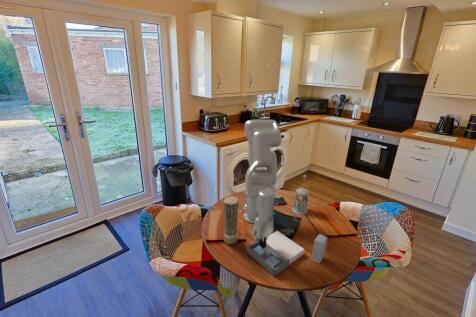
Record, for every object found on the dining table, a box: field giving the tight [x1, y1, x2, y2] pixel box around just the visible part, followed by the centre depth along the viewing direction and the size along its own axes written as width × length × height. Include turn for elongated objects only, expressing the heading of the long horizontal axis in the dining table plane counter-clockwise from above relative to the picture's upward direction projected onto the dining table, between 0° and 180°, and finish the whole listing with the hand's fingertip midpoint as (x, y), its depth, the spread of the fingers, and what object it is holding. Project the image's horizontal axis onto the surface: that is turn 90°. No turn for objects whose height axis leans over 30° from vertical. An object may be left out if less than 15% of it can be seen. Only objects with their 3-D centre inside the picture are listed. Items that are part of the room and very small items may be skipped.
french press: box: [290, 174, 310, 215], centre depth 154 cm, size 10×12×25 cm
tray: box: [245, 241, 290, 277], centre depth 117 cm, size 19×10×4 cm, turn 39°
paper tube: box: [223, 195, 239, 245], centre depth 125 cm, size 7×7×25 cm
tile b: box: [252, 246, 266, 257], centre depth 120 cm, size 5×5×2 cm
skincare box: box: [311, 233, 328, 264], centre depth 117 cm, size 6×4×12 cm
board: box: [266, 230, 305, 265], centre depth 124 cm, size 18×12×3 cm, turn 39°
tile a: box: [265, 256, 280, 268], centre depth 113 cm, size 5×5×2 cm
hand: (262, 246), depth 121 cm, fingers closed
